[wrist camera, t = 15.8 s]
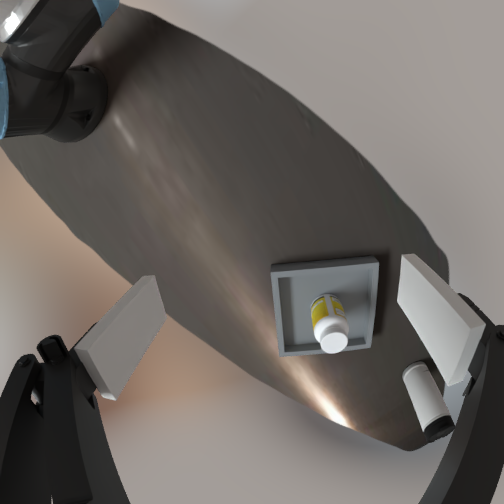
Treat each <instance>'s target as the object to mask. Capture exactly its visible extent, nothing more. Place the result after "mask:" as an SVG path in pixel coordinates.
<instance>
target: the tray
mask: <svg viewBox="0 0 504 504" xmlns="http://www.w3.org/2000/svg"><path fill="white" fill-rule="evenodd" d="M378 273H379V262H378V261H377V259H376V258H375V257H374V256H363V257H353V258H342V259H331V260H320V261H308V262H297V263H285V264H273V265H271V281H272V290H273V300H274V309H275V318H276V328H277V338H278V348H279V357H284V356H299V355H311V354H322V353H327V352H325V351H323V350H322V348H321V345H320V343H319V342H318V341H317V340H316V338H315V335H314V330H313V323H312V317H311V305H312V303H313V301H314V300H315V299H316V298H317V297H319V296H321V295H324V294H331V295H334V296H336V297H337V298H338V299H339V300H340V302H341V304H342V307H343V310H344V313H345V316H346V319H347V322H348V325H349V332H348V335H347V338H348V343H347V346H346V347H345V348H344V349H343V350H342V351H348V350H356V349H363V348H370V347H371V341H372V334H373V326H374V318H375V309H376V299H377V287H378Z"/></svg>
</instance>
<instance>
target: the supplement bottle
mask: <svg viewBox="0 0 504 504" xmlns="http://www.w3.org/2000/svg"><path fill="white" fill-rule="evenodd" d="M311 317H312V323H313V330H314V335H315V338H316V340H317V341H318V342H319V343H320V345H321V348H322V350H323V351H325V352H327V353H337V352H340V351H342V350H343V349H344V348H345V347H346V346H347V343H348V338H347V335H348V332H349V325H348V322H347V319H346V316H345V313H344V310H343V307H342V304H341V302H340V300H339V299H338V298H337V297H336V296H334V295H331V294H324V295H321V296H319V297H317V298H316V299H315V300H314V301H313V303H312V305H311Z"/></svg>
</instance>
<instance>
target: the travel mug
mask: <svg viewBox="0 0 504 504" xmlns="http://www.w3.org/2000/svg"><path fill="white" fill-rule="evenodd" d="M402 378H403V380H404V382H405V385H406V387H407V390H408V392H409V395H410V397H411V400H412V402H413V405H414V408H415V410H416V413H417V416H418V418H419V421H420V424H421V427H422V429H423V432H424V434H425V438H426V441H427V442H428V443H431V442H434V441H435V440H437V439H440V438H441V437H445V436H447V435H448V434H450V433H451V432H452V431H453V430H454V429H455V425H454V422H453V420H452V418H451V415H450V413H449V410H448V408H447V406H446V404H445V402H444V400H443V398H442V396H441V393H440V391H439V389H438V387H437V385H436V383H435V381H434V379H433V377H432V375H431V373H430V372H429V370H428V368H427V366H426V364H425V363H424V362H421V361H419V362H415V363H413V364H411V365H409V366H408V367H407V368H406V369H405V370H404V372H403V375H402Z"/></svg>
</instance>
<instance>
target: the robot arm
mask: <svg viewBox="0 0 504 504" xmlns="http://www.w3.org/2000/svg"><path fill="white" fill-rule="evenodd" d="M118 6H119V0H0V41H1V42H4V43H8V46H7V47H6V49H5V51H4V52H3V54H2V56H1V57H0V139H3V138H7V137H16V136H26V135H38V134H43V135H45V136H48V137H50V138H52V139H54V140H57V141H59V142H64V143H67V142H77V141H80V140H82V139H83V138H85V137H86V136H88V135H89V134H90V133H91V132H92V131H93V130H94V128H95V127H96V126H97V124H98V123H99V121H100V119H101V117H102V115H103V112H104V109H105V106H106V102H107V93H108V91H107V83H106V79H105V77H104V75H103V74H102V73H101V72H100V71H99V70H98V69H96V68H94V67H90V66H87V65H78V66H72V67H70V65H71V64H72V63H73V61H74V60H75V58H76V57H77V56H78V54H79V53H80V52H81V51H82V49H83V48H84V47H85V45H86V44H87V43H88V42H89V41H90V39H91V38H92V37H93V36H94V35H95V33H96V32H97V31H98V30H99V29H100V28H102V27H103V26H104V24H105V22H106V21H107V19H108V18H109V17H110V16H111V15H112V14H113V13H114V12H115V10H116V9H117V8H118ZM397 302H398V304H399V305H400V307H401V308H402V310H403V311H404V313H405V314H406V316H407V317H408V319H409V320H410V322H411V324H412V325H413V327H414V328H415V330H416V332H417V333H418V335H419V336H420V338H421V340H422V341H423V343H424V345H425V346H426V348H427V350H428V352H429V353H430V355H431V357H432V358H433V360H434V362H435V364H436V365H437V367H438V369H439V371H440V373H441V375H442V376H443V378H444V380H445V382H446V384H447V386H451V385H454V384H457V383H459V382H462V381H463V380H464V378H465V375H466V373H467V371H469V372H470V374H471V376H472V377H471V379H470V381H469V383H468V386H467V387H466V389H465V391H464V393H463V396H465V398H464V402H463V405H462V408H461V411H460V414H459V417H458V420H457V423H456V426H455V429H454V431H453V434H452V437H451V439H450V442H449V444H448V447H447V449H446V452H445V454H444V456H443V458H442V460H441V462H440V465H439V467H438V469H437V471H436V473H435V475H434V477H433V479H432V481H431V483H430V485H429V486H428V488H427V490H426V492H425V493H424V495H423V497H422V499H421V500H420V502H419V504H490V503H491V500H492V497H493V495H494V492H495V490H496V487H497V484H498V481H499V478H500V475H501V472H502V468H503V464H504V325H497V326H495V325H494V324H493V323H492V322H491V320H490V319H489V318H488V317H487V316H486V315H485V314H484V313H483V312H482V311H481V310H479V308H478V307H477V306H476V305H475V304H474V303H473V302H472V301H471V300H470V299H469V298H468V297H466V296H464V295H462V294H461V293H458V294H457V293H456V292H455V291H454V290H453V289H452V288H451V287H450V286H449V285H448V284H447V283H446V282H445V281H444V280H443V279H441V278H440V277H439V276H438V275H437V274H436V273H435V272H434V271H433V270H432V269H431V268H430V267H429V266H428V265H426V264H425V263H424V262H423V261H422V260H421V259H420V258H419V257H417V256H416V255H415V254H407V255H402V260H401V272H400V282H399V291H398V299H397ZM166 319H167V316H166V313H165V309H164V306H163V303H162V300H161V296H160V293H159V289H158V286H157V282H156V279H155V275H153V276H143V277H141V278H140V279H139V280H138V281H137V282H136V283H135V284H134V285H133V286H132V287H131V288H130V289H129V290H128V291H127V292H126V293H125V295H124V296H123V297H122V298H121V299H120V300H119V301H118V302H117V303H116V304H115V305H114V306H113V307H112V308H111V309H110V310H109V311H108V312H107V313H106V314H105V315H104V316H103V317H102V318H101V320H100V321H98V322H97V323H95V324H94V325H93V326H92V327H91V328H90V329H89V330H88V332H86V333H85V334H84V335H83V337H81V339H80V340H79V341H78V342H77V343H76V344H75V345H74V346H73V347H72V348H71V350H70V351H69V352H68V350H67V348H66V346H65V344H64V342H63V340H62V338H61V336H59V335H52V336H48V337H46V338H45V339H43V340H42V341H40V343H39V344H38V346H37V350H38V352H39V354H40V355H41V357H42V359H43V360H44V362H45V363H39V362H38V360H37V359H36V357H35V355H33V354H27V355H24V356H22V357H21V358H20V359H19V360H18V361H17V362H16V364H15V366H14V368H13V370H12V372H11V374H10V376H9V379H8V381H7V383H6V385H5V388H4V390H3V392H2V395H1V397H0V504H51V494H52V499H53V504H130V502H129V499H128V497H127V495H126V492H125V490H124V488H123V485H122V482H121V480H120V477H119V475H118V472H117V469H116V466H115V463H114V461H113V458H112V455H111V451H110V448H109V445H108V442H107V439H106V435H105V431H104V427H103V424H102V420H101V416H100V412H99V407H98V403H97V399H96V397H95V395H94V394H93V392H94V391H95V390H96V388H97V389H98V391H99V392H100V394H101V395H102V397H104V398H108V399H112V400H117V398H118V396H119V395H120V393H121V391H122V390H123V388H124V386H125V384H126V383H127V381H128V380H129V378H130V376H131V375H132V373H133V372H134V370H135V368H136V367H137V365H138V363H139V362H140V360H141V359H142V357H143V355H144V354H145V352H146V350H147V349H148V347H149V346H150V344H151V342H152V341H153V339H154V338H155V336H156V335H157V333H158V331H159V330H160V328H161V327H162V325H163V324H164V322H165V320H166ZM31 394H32V395H33V396H34V397H35V399H36V400H37V403H36V405H35V404H34V403H33V402H32V400H31ZM465 394H466V395H465Z"/></svg>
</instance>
